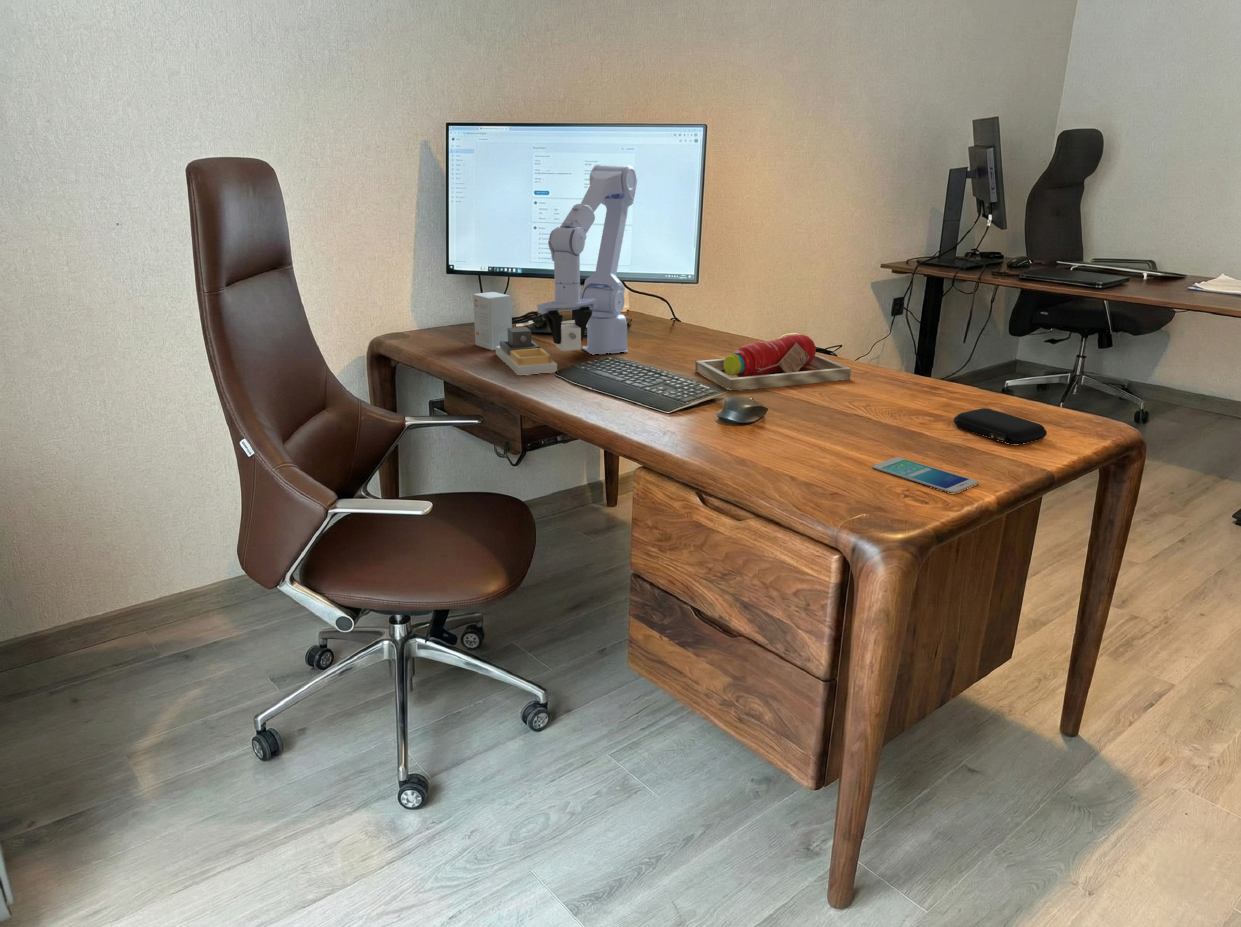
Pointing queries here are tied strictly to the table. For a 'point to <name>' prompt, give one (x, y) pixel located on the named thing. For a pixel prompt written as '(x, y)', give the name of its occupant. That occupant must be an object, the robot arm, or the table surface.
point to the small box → (491, 318)
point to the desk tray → (775, 375)
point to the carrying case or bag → (1000, 426)
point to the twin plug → (519, 337)
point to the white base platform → (526, 359)
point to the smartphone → (925, 475)
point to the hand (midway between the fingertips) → (568, 341)
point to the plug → (570, 337)
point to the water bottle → (771, 356)
